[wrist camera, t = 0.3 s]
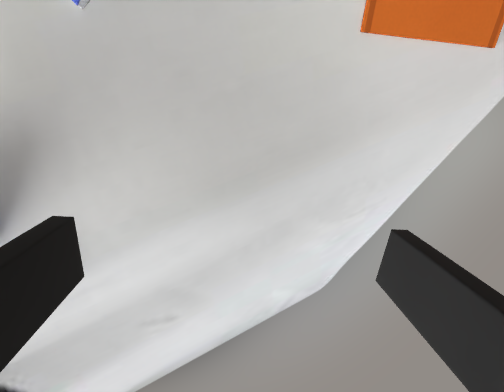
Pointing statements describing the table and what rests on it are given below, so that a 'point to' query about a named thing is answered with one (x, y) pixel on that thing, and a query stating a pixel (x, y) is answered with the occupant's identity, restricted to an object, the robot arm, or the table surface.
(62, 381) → the table surface
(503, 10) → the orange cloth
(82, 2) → the hard drive
